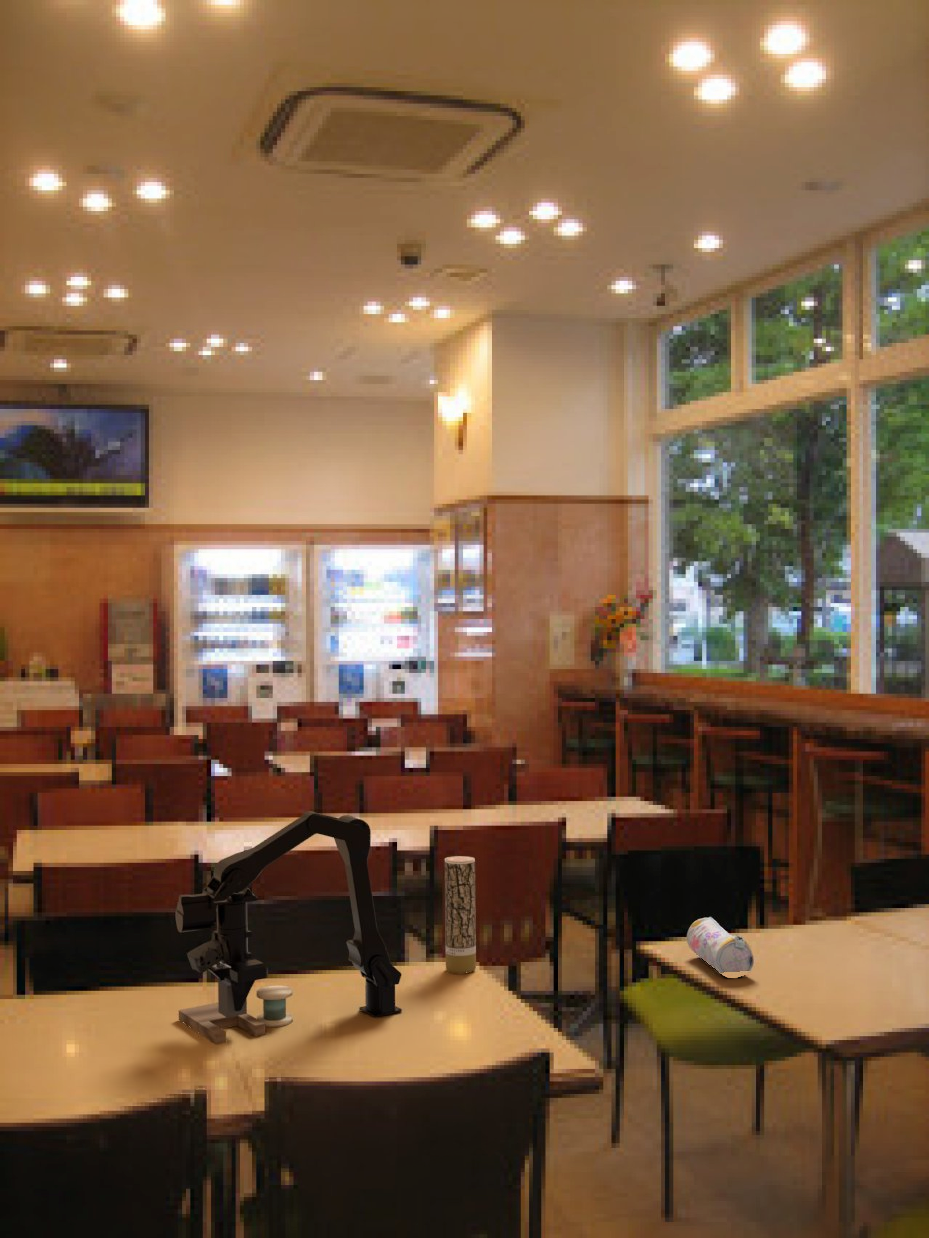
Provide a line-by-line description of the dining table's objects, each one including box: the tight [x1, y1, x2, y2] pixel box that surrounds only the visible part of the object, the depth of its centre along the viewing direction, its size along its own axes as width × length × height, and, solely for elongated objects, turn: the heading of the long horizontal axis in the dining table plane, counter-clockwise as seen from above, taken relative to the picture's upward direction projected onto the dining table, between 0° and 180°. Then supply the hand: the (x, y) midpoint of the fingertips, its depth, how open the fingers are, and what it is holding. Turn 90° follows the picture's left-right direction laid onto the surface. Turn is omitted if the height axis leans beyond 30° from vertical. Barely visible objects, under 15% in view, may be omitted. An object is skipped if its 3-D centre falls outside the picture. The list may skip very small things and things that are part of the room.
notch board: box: [178, 1002, 266, 1045], centre depth 248 cm, size 18×10×2 cm, turn 35°
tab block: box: [217, 979, 248, 1018], centre depth 243 cm, size 4×4×6 cm
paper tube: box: [444, 855, 477, 974], centre depth 286 cm, size 7×7×25 cm
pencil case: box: [686, 916, 755, 973], centre depth 286 cm, size 21×9×10 cm, turn 10°
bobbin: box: [255, 985, 294, 1028], centre depth 251 cm, size 7×7×6 cm
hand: (233, 1008), depth 243 cm, fingers closed on tab block, 4 cm apart
